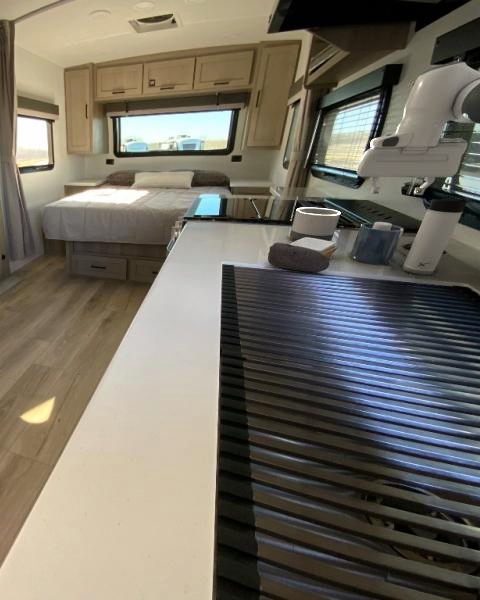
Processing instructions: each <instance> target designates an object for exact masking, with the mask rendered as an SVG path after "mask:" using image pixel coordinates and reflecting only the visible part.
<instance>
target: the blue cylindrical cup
mask: <svg viewBox="0 0 480 600" xmlns="http://www.w3.org/2000/svg"><path fill="white" fill-rule="evenodd" d="M374 223H375V222H364V223H361V224H360V227H359V229H358V232H357V234H356V238H355V240H354V243H353V245H352V248H351V252H350V255H349V257H350V259H352V260H354V261H356V262H359V263H364V264H368V265H379V266H383V265H389V264H390V263H391V261H392V259H393V257H394V254H395V251H396V249H397V247H398V244H399V242H400V241H401V237H402V235H403V233H404V230H405V228H403V227H401V226H398V225H394V224H392V226H391V229H390V230H391V231H387V230H377V229H372V228H373V226H374Z"/></svg>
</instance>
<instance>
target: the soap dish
mask: <svg viewBox="0 0 480 600" xmlns="http://www.w3.org/2000/svg"><path fill="white" fill-rule="evenodd" d="M289 244H290V245H294V246H301V247H305V248H309V249H312V250H315V251H318V252H320V253H322V254H323V255H325V256H326V257H327V258H328V259H329V258H330V257H332V255H333V254H334V253H335V252H336V250H337V249H338V248H339V247H338V246H336V242H335V241H332V240H331V241H326V240H320V239H315V238H309V237H305V238H302V239H300V240H295V241H293V242H291V243H289Z"/></svg>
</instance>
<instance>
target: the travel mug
mask: <svg viewBox="0 0 480 600" xmlns="http://www.w3.org/2000/svg"><path fill="white" fill-rule="evenodd" d="M470 201H471V198H437V199H434V198H433V199H432V200H431V201H430V206H429V207H428V208H427V211H426V212H425V215H424V217H423V219H422V222H421V224H420V227H419V229H418V231H417V233H416V235H415V237H414V240H413V242H412V245H411V247H410V249H409V251H408V253H407V256H406V259H405V260H404V263H403V264H402V267H401V268H402V270H403V271H404V272H407V273H409V274H415V275H421V276H431V275H433V274H434V272H435V270H436V268H437V265H438V264H439V262H440V259H441V257H442V255H443V253H444V251H445V249H446V247H447V245H448V243H449V241H450V239H451V237H452V235H453V233H454V231H455V229H456V227H457V224H458V222H459V220H460V218H461V216H462V214H463V212H464V209H465V207H466V205H467V203H469V202H470Z"/></svg>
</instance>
